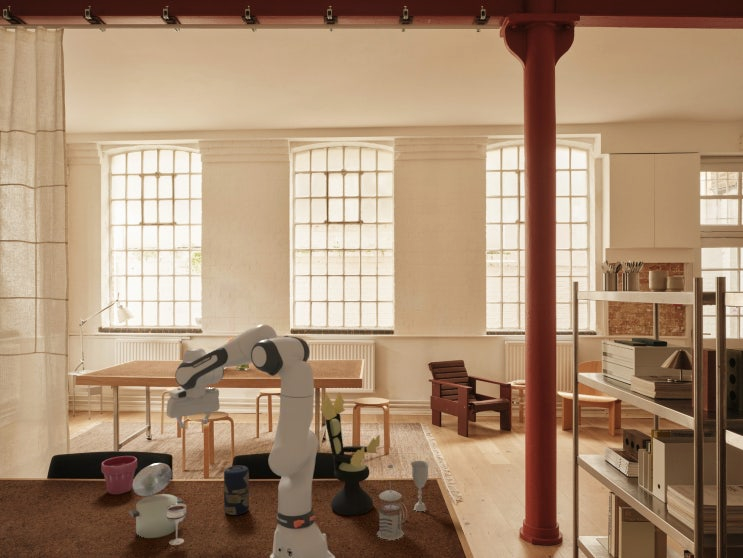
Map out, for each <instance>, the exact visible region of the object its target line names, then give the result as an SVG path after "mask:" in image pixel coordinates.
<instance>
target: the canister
mask: <svg viewBox="0 0 743 558" xmlns="http://www.w3.org/2000/svg"><path fill="white" fill-rule="evenodd" d="M249 473H250V471H249V468H248V466H245V465H241V464H240V465H232V466H229V467H226V468H225V469H224V471H223V502H224V503H223V507H224V508H223V510H224V512H225V514H227V515H231V516H238V515H243V514H245V513H247V512H248V511H249V507H250V493H249V492H250V474H249Z"/></svg>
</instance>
